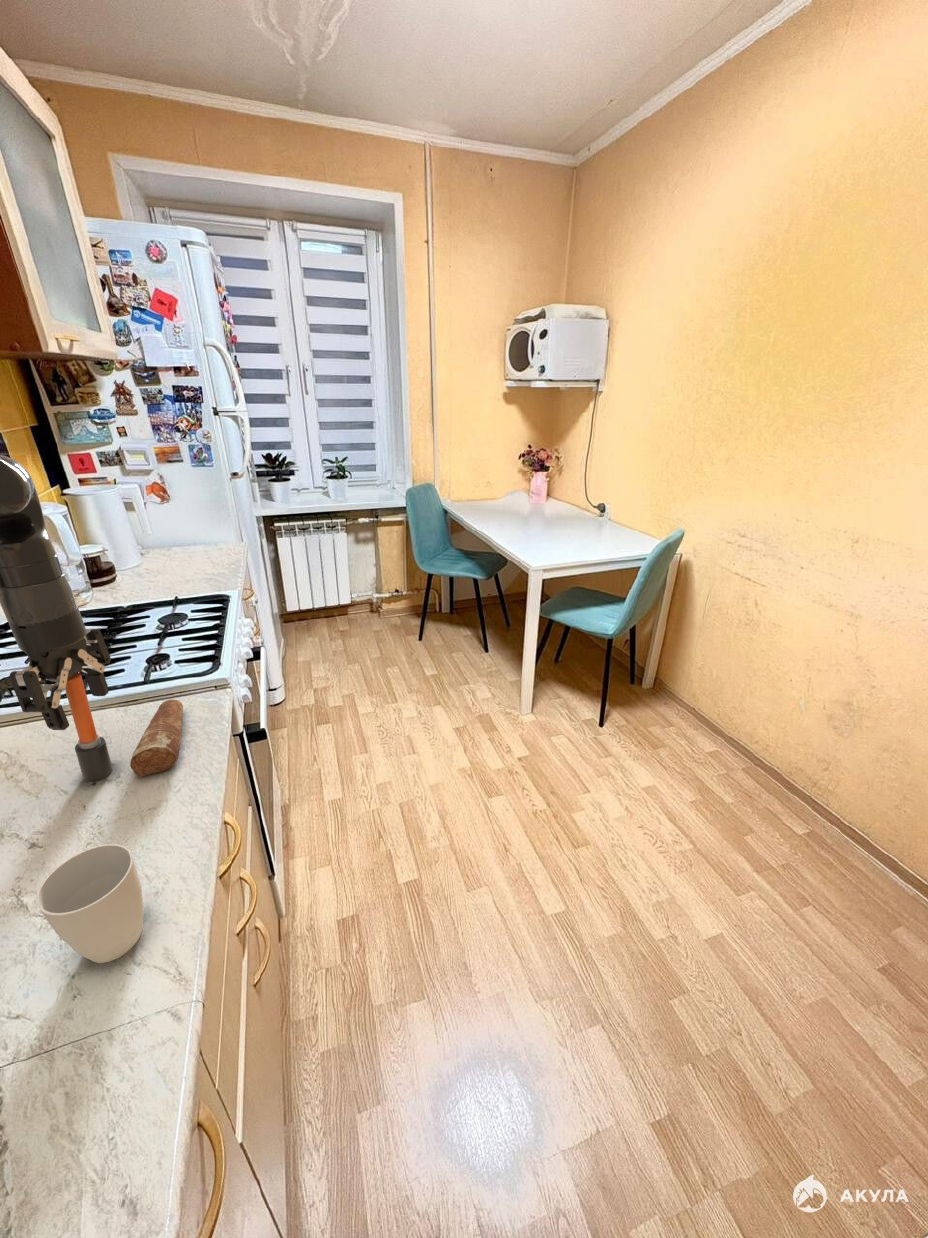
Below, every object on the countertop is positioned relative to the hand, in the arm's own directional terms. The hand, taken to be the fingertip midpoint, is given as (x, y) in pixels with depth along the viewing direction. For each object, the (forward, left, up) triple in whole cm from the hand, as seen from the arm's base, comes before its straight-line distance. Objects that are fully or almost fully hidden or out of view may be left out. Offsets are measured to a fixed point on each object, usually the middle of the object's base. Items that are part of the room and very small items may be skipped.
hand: (81, 711), depth 74 cm
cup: (+18, -26, -12) cm, 34 cm away
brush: (-1, 0, -12) cm, 12 cm away
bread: (+5, +8, -12) cm, 15 cm away
